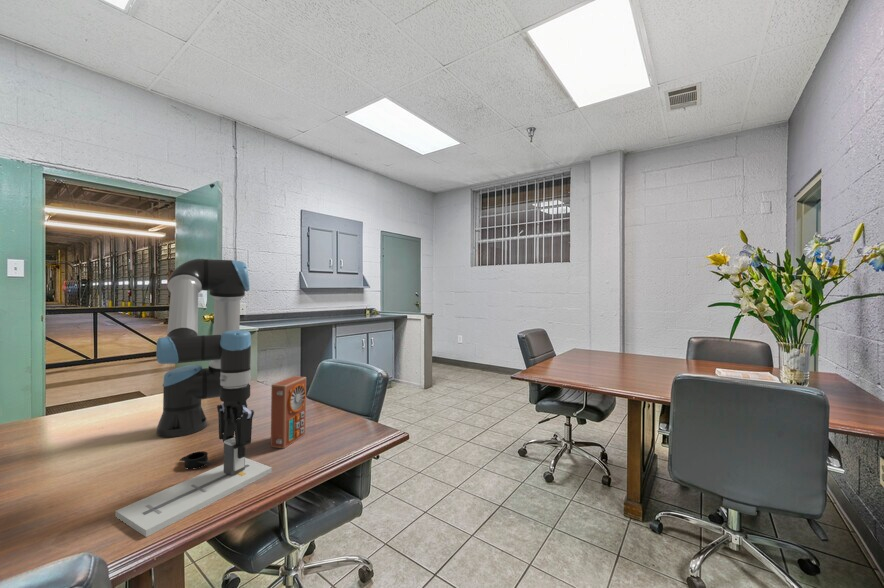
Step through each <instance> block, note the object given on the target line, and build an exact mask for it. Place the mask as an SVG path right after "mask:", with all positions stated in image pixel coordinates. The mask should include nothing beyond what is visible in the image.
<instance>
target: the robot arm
mask: <svg viewBox="0 0 884 588" xmlns="http://www.w3.org/2000/svg"><path fill="white" fill-rule="evenodd" d="M167 290H168V291H169V293H170V300H169V309H168V318H167V319H168V320H167V321H168V322H167V332H166V336H164V337H159V338H158V339H157V340H156V348H155V349H156V350H155V351H156V353H155V354H156V355H155V356H156V362H157V363H159V364H160V365H166V364H167V365H168V364H170V365H171V364H183V363H193V362H194V363H195V362H206V361H207V362H208V361H210V362H208V367H206V368H203V367H202V365H201V364H189V365H184V366H180V367H176V368H172V369H170V370H168V371H166V373H165V374H164V375H163V383H162V387H163V395H162V397H163V399H162V402H163V403H162V404H163V405H162V407H163V408H162V414H161V416H160V419H159V421H158V424H157V426H156V435H157V434H158V435H159V437H161V436H162V437H161V438H176V437H182V436H187V435H191V434H194V433H198V432H199V431H201V430H202V431H203V429H205V428H206V427H207V417H206V415H205V411H204V409H203V406H202V400H206V399H215V398H219V400H220V401H221V402H223V403H221V404H217V405H216V409H217V412H218V413H217V415H218V438H219V440H222V443H223V444H224V441H225V440H228V439H231V438H233V437H235V440H236V446H234V471H236V470H238V469H241V468H243V467H244V461H245V458H246V446H247V445H250V444H251V443H252V431H253V418H254V415H255V411H254V410H253V409H251V410H250V409H249V408H248V403H247V400H248V399H249V398H250V397H251V384H250V383H251V382H252V381H251V380H252V379H251V378H252V377H251V375H252V373H251V359H252V358H251V356H252V355H251V352H252V336H251V332H250V331H249V330H241V329H240V324H241V323H240V322H241V321H240V320H241V319H240V318H241V317H240V316H241V315H240V314H241V300H242V299H243V298H244V297H245V296H246V295H245V294H246V293H245V292H248V291H250V277H249V272H248V267H247V265H246V263H245V262H243V261H240V260H232V259H209V258H207V259H206V258H196V259H195V258H194V259H191V260H188V261H185V262H183V263H181V264H180V265H179V266H177V267H175V269H174V270H172V272H171V274H170V275H169V277H168V280H167ZM201 291H209V296H210V297H211V298H212V299H213V301H214V302H213V305H214V306H213V308H214V309H213V313H214V314H213V334H209V335H205V334H204V335H202V334H201V335H199V294H200V292H201ZM158 435H157V436H158Z"/></svg>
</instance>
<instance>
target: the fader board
mask: <svg viewBox="0 0 884 588" xmlns="http://www.w3.org/2000/svg"><path fill="white" fill-rule="evenodd" d="M272 473H273V467H272V466H269V465H266V464H263V463H260V462H258V461H255V460H252V459H249V458H248V457H245V470H242V471H240V472H238V473H236V474H234V475H232V476H231V475H228V474H226V473H224V463H223V464H221V465H218V466H216V467H214V468H211V469H209V470H207V471H205V472H202V473H200V474H198V475H195V476H193V477H190V478H188V479H186V480H184V481H182V482H178V483H177V484H175V485H172V486H170V487H167V488H166V489H162V490H160V491H158V492H155V493H154V494H151V495H149V496H147V497H144V498H142V499H140V500H137V501H135V502H132V503H131V504H129V505H126V506H123V507H121V508H119V509H116V510H115V518H116V517H117V518H116V519H118V520H119V519H120V521H121V522H122V521H123V522H122V523H124V524H125V523H126V525H127V526H128V527H130V528H131V529H133V530H134V531H135V532H137V533H139V534H141V535H142V536H143V537H145V538H148V537H150V536H151V535H154V534H155V533H157V532H159V531H161V530H163V529H165V528H167V527H169V526H170V525H173V524H174V523H177V522H179V521H181V520H182V519H185V518H186V517H188V516H190V515H192V514H194V513H196V512H199V511H200V510H201V509H204V508H205V507H208V506H209V505H211V504H213V503H215V502H217V501H219V500H221V499H223V498H225V497H227V496H229V495H231V494H233V493H235V492H237V491H238V490H240V489H242V488H245V487H248V486H249V485H250V484H253V483H254V482H257V481H258V480H260V479H262V478H264V477H266V476H268V475H270V474H272Z"/></svg>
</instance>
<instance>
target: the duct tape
mask: <svg viewBox="0 0 884 588" xmlns="http://www.w3.org/2000/svg"><path fill="white" fill-rule="evenodd" d="M208 456H209V453H208V452H207V451H195V452H192V453H190V454H188V455H185V456H182V457H181V458H180V459H178V460H179V462H180V461H181V462H184V469H185V468H188V469H187V470H194V469H193V468H197V469H200V468H202V467H201V466H203V467H204V465H205V466H206V465H210V464H213V463H214V462H213V461H209V459H208ZM199 467H200V468H199Z"/></svg>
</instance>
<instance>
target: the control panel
mask: <svg viewBox="0 0 884 588" xmlns="http://www.w3.org/2000/svg"><path fill="white" fill-rule="evenodd" d="M270 400H271V401H270V402H271V405H270V406H271V407H270V412H271V413H270V448H276V449H277V448H279V449H286V448H287V447H289V446H290V445H292V444H293V443H294V442H296V441H297V440H299V439H300V438H302V437H303V436H305V435H304V434H306V420H307V419H306V418H307V417H306V416H307V415H306V414H307V407H306V406H307V377H306V376H299V375H298V376H297V375H293V376H290V377H289V378H288V377H287V378H286V379H282V380H280V381H278V382H276V383H273V384H271V399H270Z"/></svg>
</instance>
